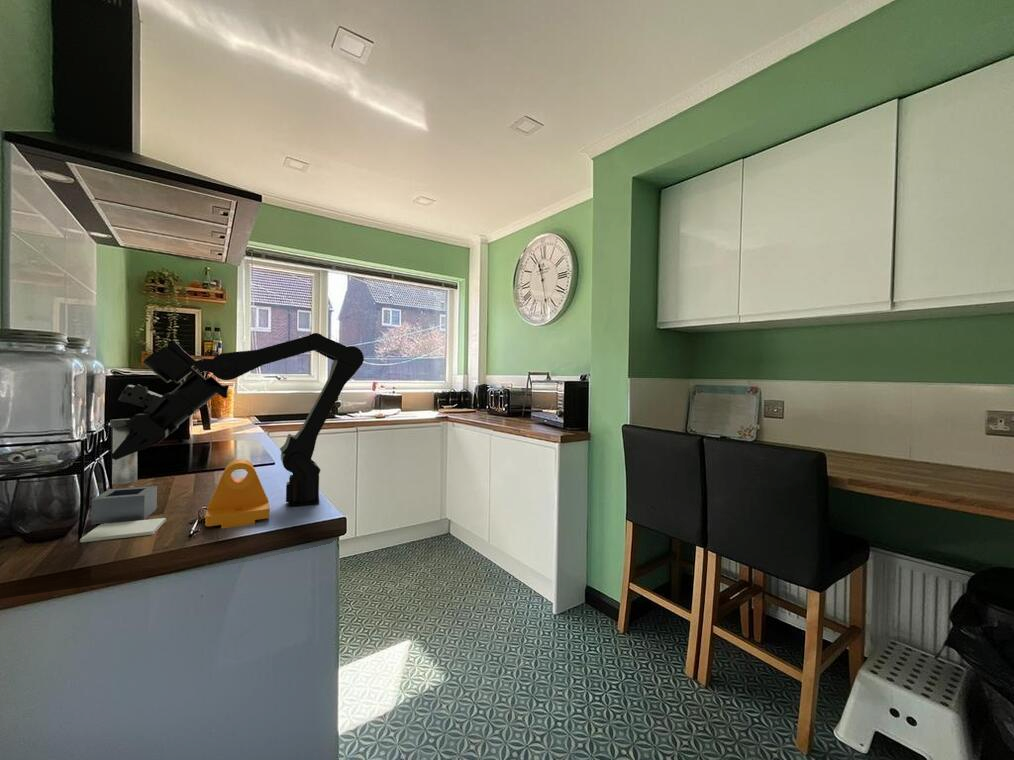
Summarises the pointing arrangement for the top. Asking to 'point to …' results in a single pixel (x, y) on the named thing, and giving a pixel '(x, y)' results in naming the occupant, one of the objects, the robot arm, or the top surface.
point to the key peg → (125, 466)
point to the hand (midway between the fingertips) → (115, 456)
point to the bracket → (237, 498)
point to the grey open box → (124, 505)
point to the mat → (123, 529)
